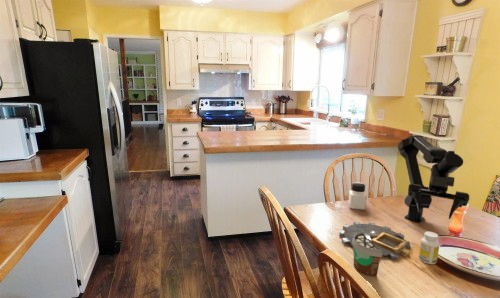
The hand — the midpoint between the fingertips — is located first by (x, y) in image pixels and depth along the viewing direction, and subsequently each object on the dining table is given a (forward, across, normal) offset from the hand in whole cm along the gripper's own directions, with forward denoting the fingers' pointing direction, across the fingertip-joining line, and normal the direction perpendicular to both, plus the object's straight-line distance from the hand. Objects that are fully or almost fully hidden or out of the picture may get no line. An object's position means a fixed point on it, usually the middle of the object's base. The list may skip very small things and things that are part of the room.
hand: (434, 215), depth 102 cm
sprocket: (+13, -18, +6) cm, 23 cm away
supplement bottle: (+16, 0, +4) cm, 16 cm away
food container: (+28, -18, -9) cm, 35 cm away
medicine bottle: (-8, -32, +27) cm, 42 cm away
